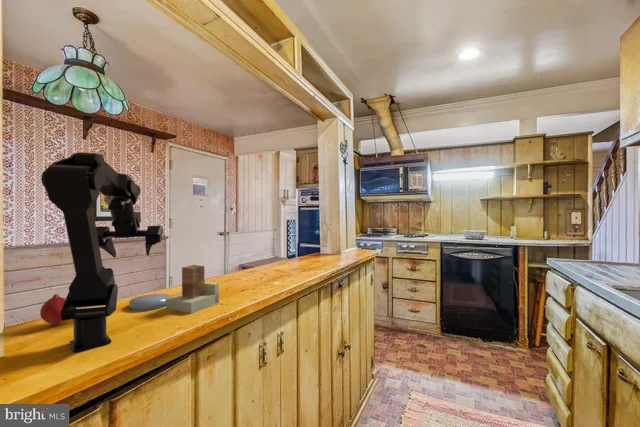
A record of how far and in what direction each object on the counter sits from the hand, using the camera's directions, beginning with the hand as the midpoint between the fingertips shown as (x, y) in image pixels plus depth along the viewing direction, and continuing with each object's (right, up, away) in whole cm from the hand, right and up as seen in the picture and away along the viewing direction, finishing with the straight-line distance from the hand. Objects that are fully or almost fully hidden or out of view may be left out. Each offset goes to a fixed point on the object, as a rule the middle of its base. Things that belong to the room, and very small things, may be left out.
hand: (131, 255), depth 95 cm
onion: (-8, -15, -19) cm, 25 cm away
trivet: (+7, -15, -3) cm, 17 cm away
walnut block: (+21, -12, -3) cm, 24 cm away
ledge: (+21, -15, -3) cm, 26 cm away
